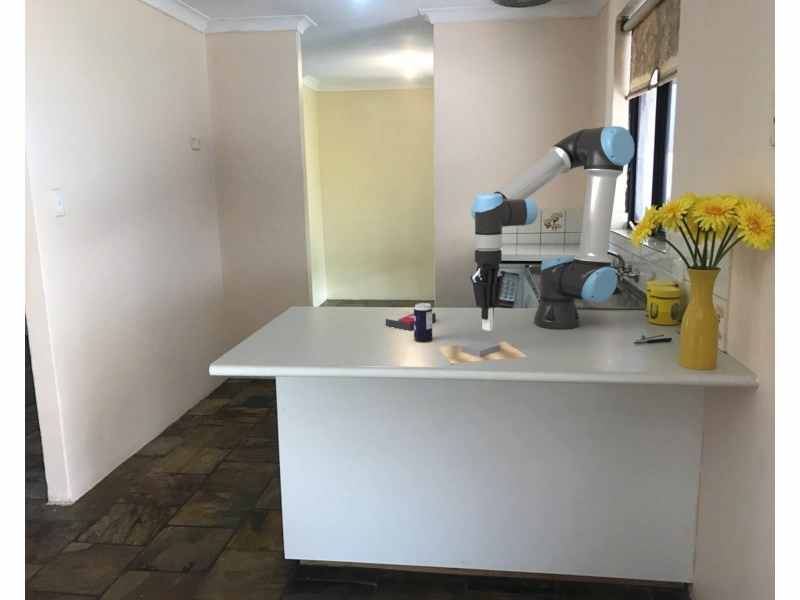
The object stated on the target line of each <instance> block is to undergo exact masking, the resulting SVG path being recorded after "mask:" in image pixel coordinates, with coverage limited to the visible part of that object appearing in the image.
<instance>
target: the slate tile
mask: <svg viewBox="0 0 800 600" xmlns="http://www.w3.org/2000/svg"><path fill="white" fill-rule="evenodd" d="M462 345H463V346H461V352H463V353H466V354H470V355H474V356H477V357H482V356H485V355H488V354H491V353H494V352H497V351H500V345H499V344H495V343H493V342H491V341H487V340H482V339H481V340H477V341H474V342H471V343H467V344H462Z"/></svg>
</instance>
